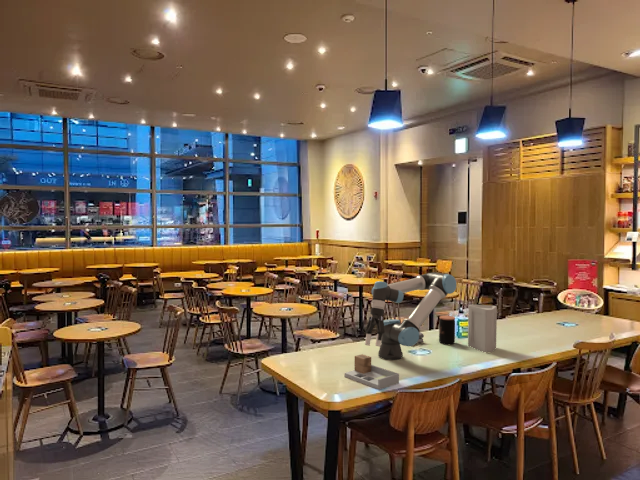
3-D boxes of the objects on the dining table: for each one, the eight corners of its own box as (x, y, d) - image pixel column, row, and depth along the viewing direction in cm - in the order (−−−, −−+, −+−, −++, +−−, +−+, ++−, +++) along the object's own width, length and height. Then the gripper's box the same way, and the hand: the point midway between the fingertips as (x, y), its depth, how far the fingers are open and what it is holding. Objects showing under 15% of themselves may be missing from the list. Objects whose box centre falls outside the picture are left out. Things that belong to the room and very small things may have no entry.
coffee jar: (438, 340, 330) (438, 315, 329) (453, 341, 328) (453, 315, 328) (439, 344, 319) (440, 318, 319) (455, 345, 318) (456, 319, 317)
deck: (363, 371, 261) (363, 362, 261) (398, 383, 241) (399, 373, 241) (344, 376, 252) (344, 367, 252) (379, 389, 232) (379, 379, 232)
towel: (408, 346, 316) (408, 334, 316) (390, 340, 331) (390, 329, 331) (424, 342, 324) (424, 331, 324) (406, 337, 340) (406, 326, 339)
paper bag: (504, 351, 303) (505, 308, 302) (485, 353, 298) (486, 309, 297) (485, 343, 321) (486, 303, 320) (467, 345, 316) (468, 304, 315)
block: (362, 368, 259) (362, 354, 259) (371, 371, 254) (371, 357, 254) (354, 370, 256) (354, 356, 255) (363, 373, 250) (363, 359, 250)
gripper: (362, 307, 276) (357, 343, 271) (381, 306, 253) (376, 345, 248) (373, 310, 278) (368, 346, 273) (393, 308, 255) (388, 347, 250)
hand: (372, 345), depth 261 cm, fingers open, 13 cm apart
